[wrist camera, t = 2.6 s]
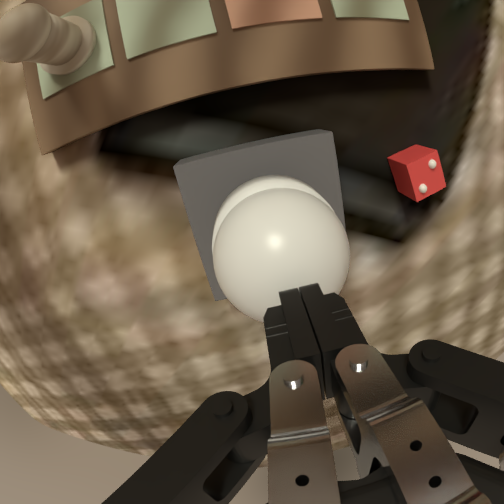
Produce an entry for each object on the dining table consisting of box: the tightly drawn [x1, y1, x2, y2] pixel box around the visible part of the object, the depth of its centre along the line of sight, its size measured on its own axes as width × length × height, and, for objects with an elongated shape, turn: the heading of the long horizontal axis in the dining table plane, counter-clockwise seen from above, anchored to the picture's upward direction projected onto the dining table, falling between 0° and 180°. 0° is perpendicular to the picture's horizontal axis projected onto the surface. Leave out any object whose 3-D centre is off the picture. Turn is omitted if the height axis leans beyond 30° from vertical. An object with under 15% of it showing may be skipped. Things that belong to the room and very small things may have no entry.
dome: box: [212, 175, 350, 323], centre depth 15 cm, size 7×7×7 cm
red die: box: [387, 145, 446, 202], centre depth 20 cm, size 3×3×3 cm
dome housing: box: [173, 129, 346, 301], centre depth 21 cm, size 10×10×3 cm
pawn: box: [0, 3, 96, 75], centre depth 11 cm, size 4×4×8 cm
